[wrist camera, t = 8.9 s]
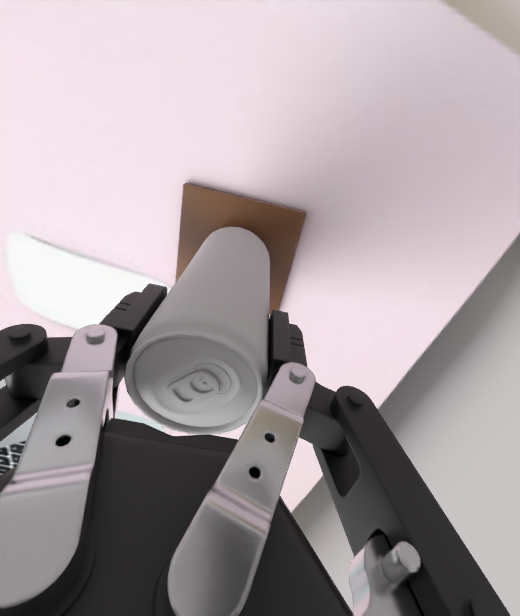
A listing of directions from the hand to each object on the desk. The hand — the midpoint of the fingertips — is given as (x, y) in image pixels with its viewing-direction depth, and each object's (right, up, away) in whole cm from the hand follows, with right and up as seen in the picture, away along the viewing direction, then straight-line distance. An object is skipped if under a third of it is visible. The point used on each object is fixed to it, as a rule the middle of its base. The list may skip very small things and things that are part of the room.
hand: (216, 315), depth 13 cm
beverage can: (0, +4, +7) cm, 8 cm away
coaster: (0, +4, +7) cm, 8 cm away
